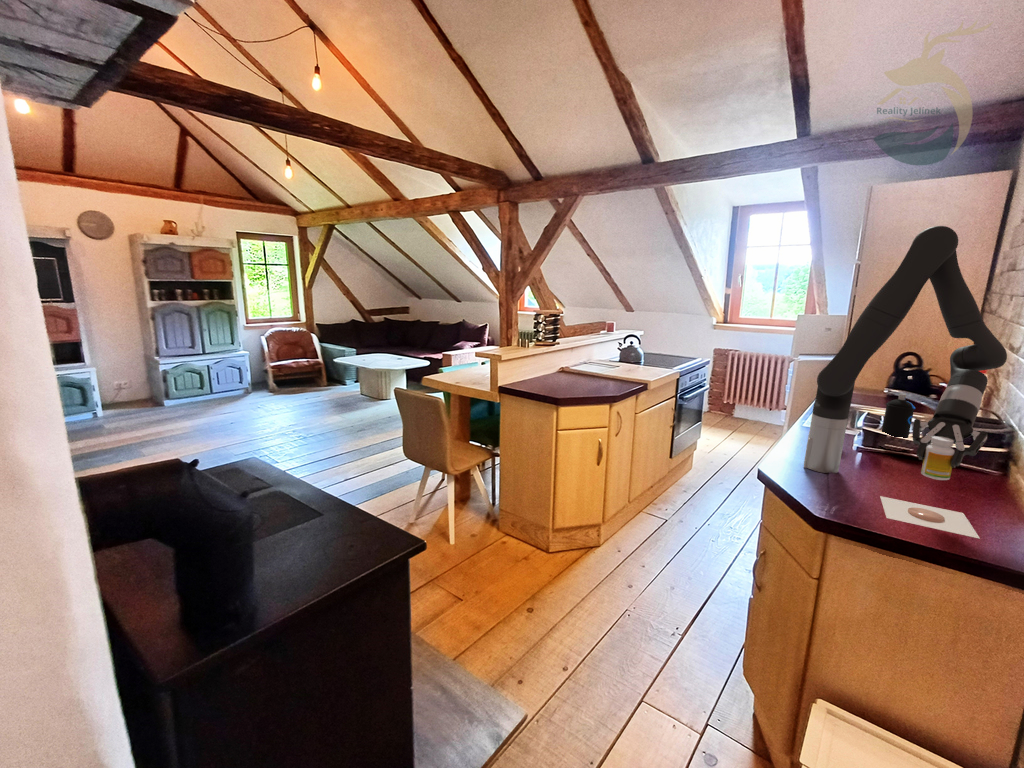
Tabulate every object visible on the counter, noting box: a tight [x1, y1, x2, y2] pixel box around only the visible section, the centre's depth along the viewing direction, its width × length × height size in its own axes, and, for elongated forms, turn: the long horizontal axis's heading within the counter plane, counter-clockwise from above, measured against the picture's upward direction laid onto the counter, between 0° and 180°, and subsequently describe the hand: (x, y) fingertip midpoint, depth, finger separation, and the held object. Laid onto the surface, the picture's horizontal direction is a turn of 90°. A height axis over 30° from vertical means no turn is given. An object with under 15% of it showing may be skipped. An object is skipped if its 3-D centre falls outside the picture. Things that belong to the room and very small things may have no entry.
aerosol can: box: [881, 393, 916, 439], centre depth 170 cm, size 8×8×20 cm
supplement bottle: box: [920, 436, 956, 481], centre depth 116 cm, size 5×5×10 cm
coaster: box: [908, 508, 945, 522], centre depth 119 cm, size 7×7×1 cm
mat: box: [879, 495, 981, 539], centre depth 119 cm, size 17×15×1 cm
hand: (936, 461), depth 115 cm, fingers closed on supplement bottle, 5 cm apart
